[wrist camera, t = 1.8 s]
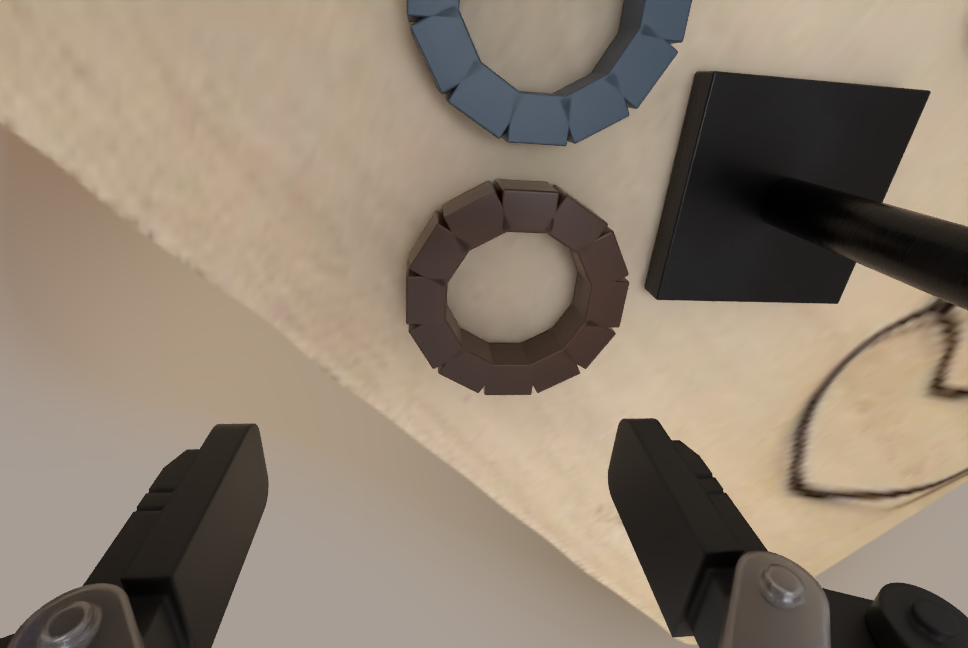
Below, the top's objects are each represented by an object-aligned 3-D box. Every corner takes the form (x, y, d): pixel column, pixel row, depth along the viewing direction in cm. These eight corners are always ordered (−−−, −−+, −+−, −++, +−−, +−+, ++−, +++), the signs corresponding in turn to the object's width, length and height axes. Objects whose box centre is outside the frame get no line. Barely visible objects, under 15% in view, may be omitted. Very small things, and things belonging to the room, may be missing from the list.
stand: (644, 288, 25) (873, 509, 12) (695, 71, 21) (1140, 66, 8) (817, 292, 27) (1187, 496, 14) (901, 89, 22) (1567, 111, 9)
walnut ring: (406, 371, 26) (405, 395, 24) (407, 173, 21) (406, 184, 19) (591, 371, 27) (604, 394, 25) (629, 186, 23) (648, 196, 21)
